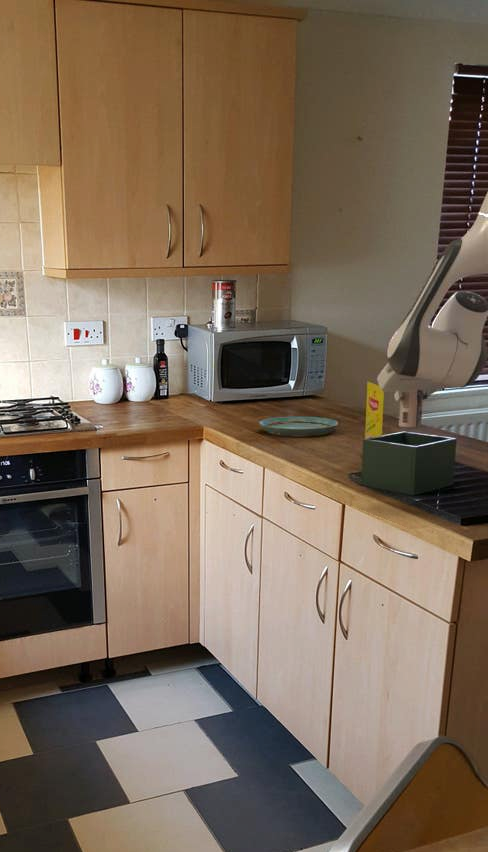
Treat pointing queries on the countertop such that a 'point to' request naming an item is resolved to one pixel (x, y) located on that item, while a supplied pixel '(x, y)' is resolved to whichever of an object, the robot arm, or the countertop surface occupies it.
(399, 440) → the waste bin
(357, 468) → the countertop surface
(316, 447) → the countertop surface
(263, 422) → the saucer
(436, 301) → the robot arm
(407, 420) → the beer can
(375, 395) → the food package
